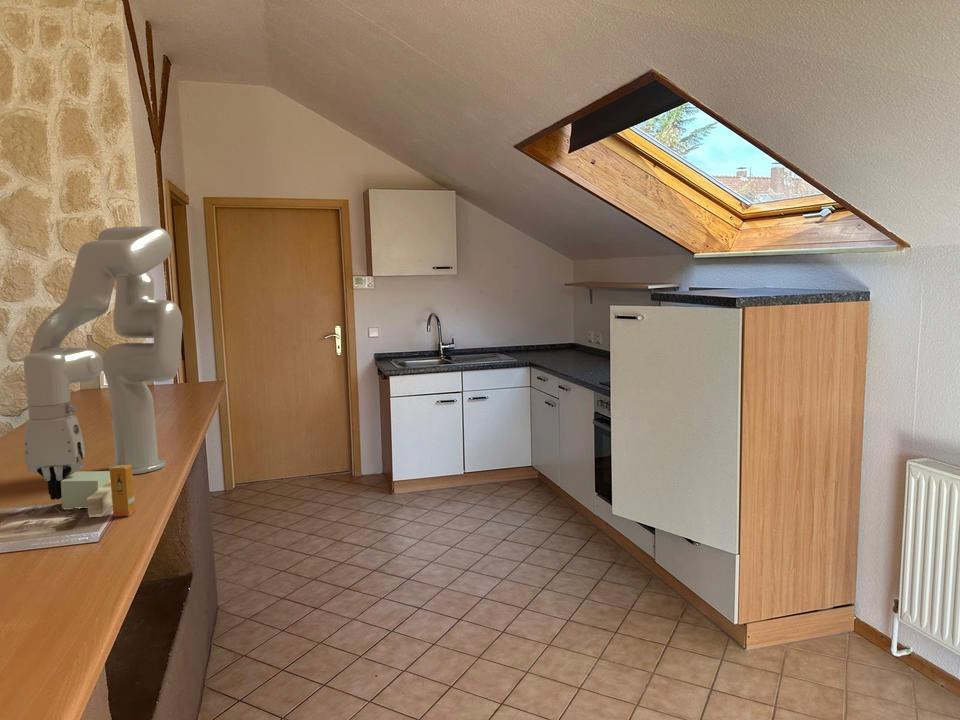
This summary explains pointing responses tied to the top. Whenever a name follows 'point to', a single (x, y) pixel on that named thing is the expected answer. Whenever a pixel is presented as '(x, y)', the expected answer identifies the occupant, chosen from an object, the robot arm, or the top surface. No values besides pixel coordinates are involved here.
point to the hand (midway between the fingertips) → (58, 497)
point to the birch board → (100, 500)
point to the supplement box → (122, 490)
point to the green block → (82, 487)
